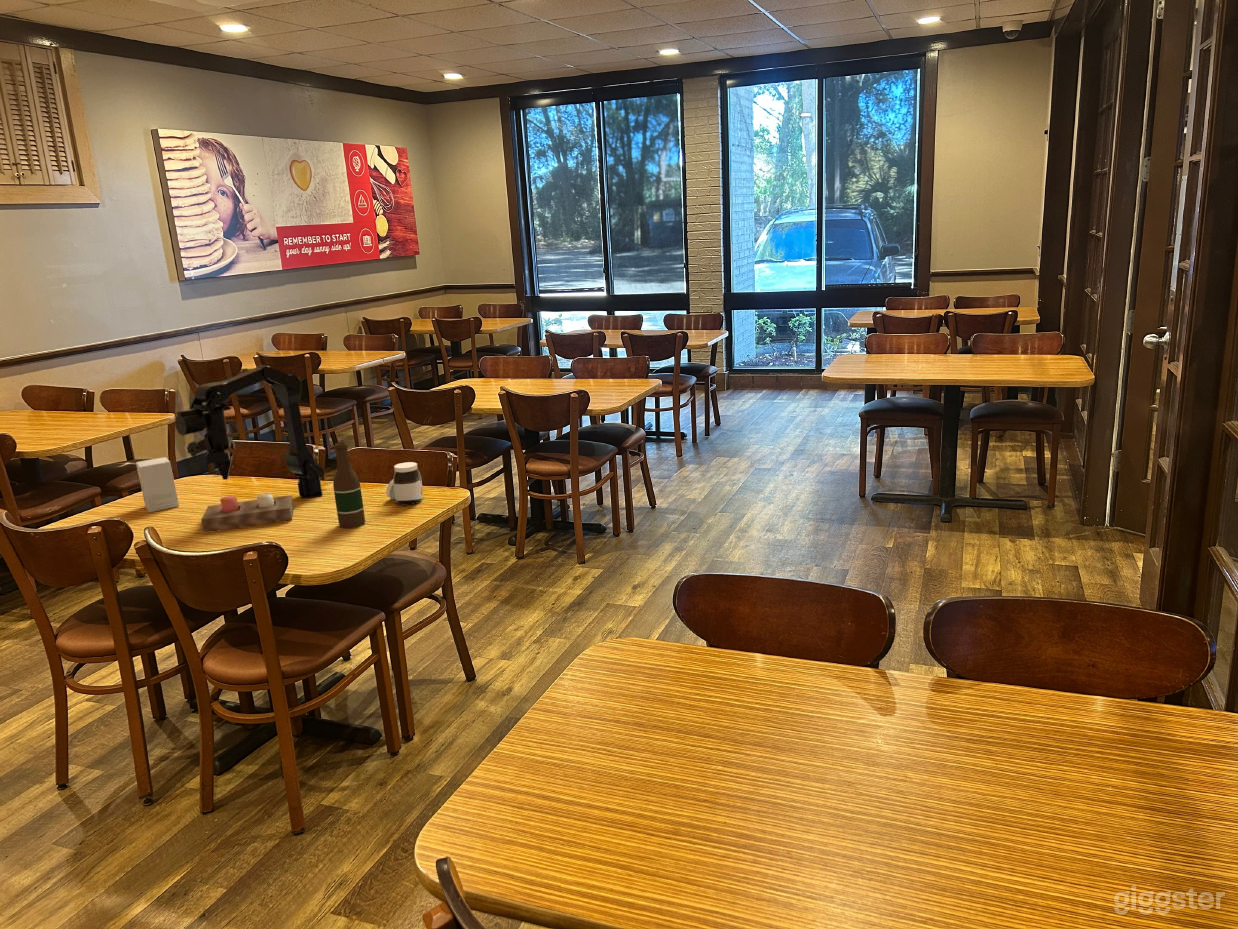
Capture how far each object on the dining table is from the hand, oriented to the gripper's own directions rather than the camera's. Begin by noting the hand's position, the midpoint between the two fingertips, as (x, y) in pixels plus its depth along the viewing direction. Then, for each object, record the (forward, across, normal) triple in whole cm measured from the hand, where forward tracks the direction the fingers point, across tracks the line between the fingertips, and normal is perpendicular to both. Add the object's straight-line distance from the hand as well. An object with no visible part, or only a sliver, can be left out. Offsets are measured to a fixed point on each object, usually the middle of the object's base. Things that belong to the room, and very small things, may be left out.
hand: (225, 479), depth 261 cm
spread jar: (+13, +5, +50) cm, 52 cm away
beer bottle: (+13, +22, +34) cm, 42 cm away
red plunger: (+11, +2, 0) cm, 11 cm away
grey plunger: (+12, +2, +10) cm, 16 cm away
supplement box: (+13, -27, -24) cm, 38 cm away
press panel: (+13, +2, +5) cm, 14 cm away
